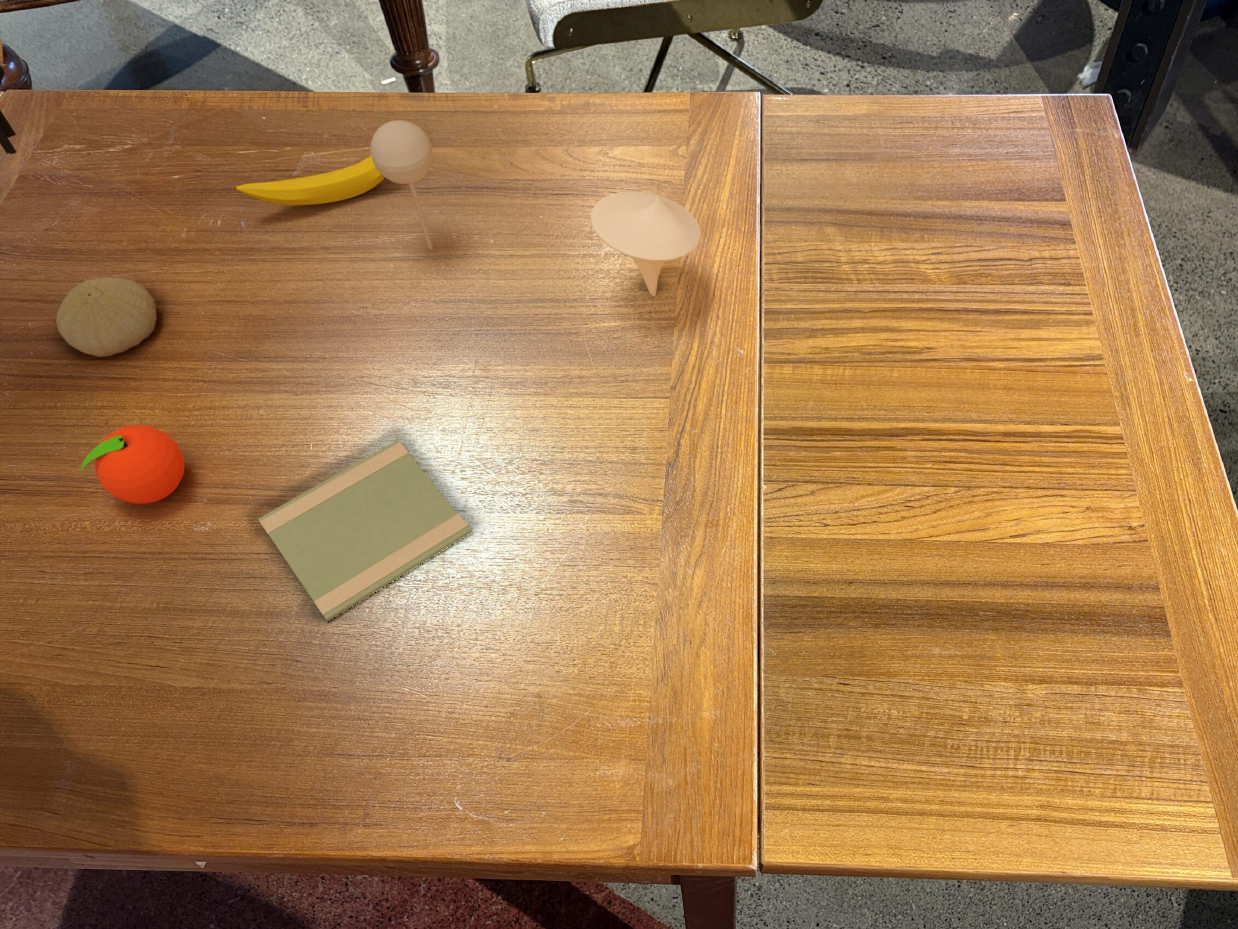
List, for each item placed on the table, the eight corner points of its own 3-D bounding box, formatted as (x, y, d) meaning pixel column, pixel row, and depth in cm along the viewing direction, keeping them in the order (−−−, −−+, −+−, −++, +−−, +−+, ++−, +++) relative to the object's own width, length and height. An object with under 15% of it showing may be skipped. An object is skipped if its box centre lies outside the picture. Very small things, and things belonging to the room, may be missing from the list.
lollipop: (397, 238, 110) (356, 116, 98) (449, 224, 111) (415, 100, 99) (411, 274, 107) (371, 152, 94) (465, 259, 108) (432, 136, 96)
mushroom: (677, 249, 108) (673, 152, 98) (718, 314, 103) (718, 219, 93) (586, 277, 106) (572, 181, 96) (623, 345, 101) (612, 251, 91)
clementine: (115, 536, 89) (72, 489, 83) (99, 481, 92) (57, 432, 86) (206, 498, 91) (170, 449, 85) (187, 446, 94) (151, 396, 88)
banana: (250, 216, 113) (226, 168, 107) (415, 168, 117) (400, 120, 112) (255, 232, 111) (232, 184, 106) (422, 183, 115) (407, 134, 110)
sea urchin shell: (85, 369, 97) (30, 295, 95) (92, 376, 104) (41, 308, 102) (174, 323, 101) (122, 250, 98) (175, 333, 108) (126, 265, 105)
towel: (328, 622, 84) (325, 618, 83) (260, 522, 89) (257, 518, 89) (472, 533, 88) (470, 528, 88) (399, 443, 94) (397, 438, 94)
